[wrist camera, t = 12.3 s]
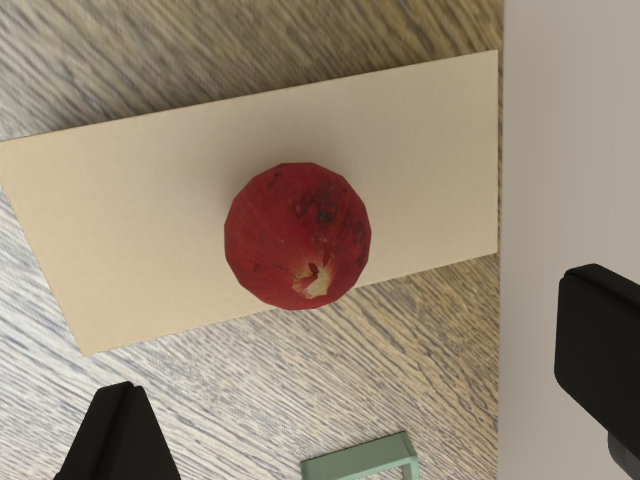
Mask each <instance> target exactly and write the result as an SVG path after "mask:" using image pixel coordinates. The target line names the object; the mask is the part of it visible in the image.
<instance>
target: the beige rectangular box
mask: <svg viewBox="0 0 640 480" xmlns="http://www.w3.org/2000/svg"><path fill="white" fill-rule="evenodd" d="M302 162H312V163H315V164H318V165H320V166H322V167H324V168H326V169H328V170H331V171H333V172H335V173H337V174H339V175H341V176H344V178H345V179H346V180H347V182H348V183H349V184H350V185H351V187H352V188H353V189H354V191H355V192H356V193H357V194H358V196H359V197H360V198H361V199H362V201H363V203H364V205H365V207H366V211H367V215H368V218H369V222H370V226H371V230H372V235H371V243H370V251H369V258H368V262H367V264H366V266H365V268H364V269H363V271H362V273H361V275H360V277H359V278H358V280H357V282H356V284H355V285H354V286H353V287H352V288H351V289H354V288H358V287H362V286H366V285H370V284H374V283H378V282H382V281H386V280H390V279H394V278H398V277H402V276H406V275H410V274H414V273H418V272H422V271H426V270H430V269H434V268H437V267H441V266H445V265H449V264H453V263H457V262H461V261H465V260H469V259H473V258H477V257H481V256H485V255H489V254H493V253H497V244H498V50H497V49H494V50H487V51H482V52H477V53H471V54H466V55H461V56H455V57H450V58H444V59H439V60H434V61H428V62H423V63H418V64H412V65H407V66H401V67H396V68H391V69H385V70H380V71H374V72H369V73H364V74H358V75H353V76H348V77H342V78H337V79H331V80H326V81H321V82H315V83H310V84H305V85H299V86H294V87H288V88H283V89H278V90H272V91H267V92H261V93H256V94H251V95H245V96H240V97H235V98H229V99H224V100H218V101H213V102H208V103H202V104H197V105H191V106H186V107H181V108H175V109H170V110H165V111H159V112H154V113H148V114H143V115H138V116H132V117H127V118H122V119H116V120H111V121H105V122H100V123H95V124H89V125H84V126H78V127H73V128H68V129H62V130H57V131H52V132H46V133H41V134H35V135H30V136H25V137H19V138H14V139H9V140H3V141H0V184H1V186H2V188H3V191H4V193H5V195H6V197H7V199H8V201H9V203H10V205H11V207H12V209H13V211H14V213H15V216H16V218H17V220H18V222H19V224H20V226H21V228H22V230H23V232H24V234H25V236H26V238H27V241H28V243H29V245H30V247H31V249H32V251H33V253H34V255H35V257H36V259H37V261H38V264H39V266H40V268H41V270H42V272H43V274H44V276H45V278H46V280H47V282H48V284H49V286H50V289H51V291H52V293H53V295H54V297H55V299H56V301H57V303H58V305H59V307H60V309H61V311H62V314H63V316H64V318H65V320H66V322H67V324H68V326H69V328H70V330H71V332H72V334H73V336H74V339H75V341H76V343H77V345H78V347H79V349H80V351H81V353H82V355H83V357H84V356H88V355H92V354H96V353H100V352H104V351H108V350H112V349H116V348H120V347H124V346H128V345H132V344H136V343H140V342H144V341H148V340H152V339H156V338H160V337H164V336H168V335H172V334H176V333H180V332H184V331H188V330H192V329H195V328H199V327H203V326H207V325H211V324H215V323H219V322H223V321H227V320H231V319H235V318H239V317H243V316H247V315H251V314H255V313H259V312H263V311H267V310H271V309H275V308H279V307H276V306H273V305H269V304H266V303H264V302H262V301H261V300H259V299H258V298H257V297H256V296H254V295H253V294H252V293H250V292H249V291H248V290H246V289H245V288H244V287H242V286H241V285H240V284H239V282H238V280H237V279H236V277H235V275H234V273H233V271H232V270H231V268H230V266H229V264H228V263H227V261H226V257H225V249H224V224H225V221H226V218H227V216H228V213H229V210H230V207H231V204H232V202H233V199H234V198H235V197H236V195H237V194H238V193H239V192H240V191H241V190H242V189H243V188H244V187H245V186H246V185H247V183H248V182H249V181H250V180H251V179H252V178H253V177H254V176H256V175H258V174H260V173H262V172H264V171H266V170H268V169H270V168H272V167H274V166H276V165H278V164H280V163H302Z"/></svg>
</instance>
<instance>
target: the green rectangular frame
mask: <svg viewBox="0 0 640 480" xmlns="http://www.w3.org/2000/svg"><path fill="white" fill-rule="evenodd" d="M401 465H402V468H403V476H404V480H420V477H419V467H418V458H417V453H416V451H415V449H414V447H413V445H412V443H411V441H410V439H409V437H408V435H407V433H406V432H401V433H398V434H395V435H391V436H388V437H385V438H381V439H378V440H375V441H371V442H368V443H365V444H361V445H358V446H355V447H352V448H348V449H345V450H342V451H338V452H335V453H332V454H328V455H325V456H322V457H318V458H315V459H312V460H308V461H304V462H301V463H300V468H301V473H302V478H303V480H356V479H359V478H363V477H366V476H369V475H372V474H375V473H379V472H382V471H385V470H388V469H392V468H395V467H398V466H401Z"/></svg>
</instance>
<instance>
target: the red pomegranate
mask: <svg viewBox="0 0 640 480" xmlns="http://www.w3.org/2000/svg"><path fill="white" fill-rule="evenodd" d="M371 235H372V230H371V226H370V222H369V218H368V215H367V211H366V207H365V205H364V203H363V201H362V199H361V198H360V197H359V196H358V194H357V193H356V192H355V191H354V189H353V188H352V187H351V185H350V184H349V183H348V182H347V180H346V179H345V178H344V176H341V175H339V174H337V173H335V172H333V171H331V170H328V169H326V168H324V167H322V166H320V165H318V164H315V163H312V162H302V163H280V164H278V165H276V166H274V167H272V168H270V169H268V170H266V171H264V172H262V173H260V174H258V175H256V176H254V177H253V178H252V179H251V180H250V181H249V182H248V183H247V185H246V186H245V187H244V188H243V189H242V190H241V191H240V192H239V193H238V194H237V195H236V197H235V198H234V199H233V202H232V204H231V207H230V210H229V213H228V216H227V218H226V221H225V224H224V249H225V257H226V261H227V263H228V264H229V266H230V268H231V270H232V271H233V273H234V275H235V277H236V279H237V280H238V282H239V284H240V285H241V286H242V287H244V288H245V289H246V290H248V291H249V292H250V293H252V294H253V295H254V296H256V297H257V298H258V299H259V300H261V301H262V302H264V303H266V304H269V305H273V306H276V307H279V308H282V309H286V310H304V309H315V308H318V307H321V306H323V305H326V304H328V303H331V302H334V301H336V300H338V299H339V298H340V297H341V296H343V295H344V294H345V293H346V292H347V291H348V290H350V289H351V288H352V287H353V286H354V285H355V284H356V282H357V280H358V278H359V277H360V275H361V273H362V271H363V269H364V268H365V266H366V264H367V262H368V258H369V251H370V243H371Z"/></svg>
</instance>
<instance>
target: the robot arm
mask: <svg viewBox="0 0 640 480" xmlns="http://www.w3.org/2000/svg"><path fill="white" fill-rule="evenodd" d="M554 374H555V377H556V380H557V382H558V383H559V385H560V386H561V387H562V388H563V389H564V390H565V391H566V392H567V393H568V394H569V395H570V396H571V397H572V398H573V399H574V400H575V401H576V402H577V403H579V404H580V405H581V406H582V407H583V408H584V409H585V410H586V411H587V412H588V413H589V414H590V415H591V416H592V417H593V418H595V419H596V420H597V421H598V422H599V423H600V424H601V425H602V426H603V427H604V428H605V429H606V430H607V431H608V432H609V433H611V434H612V435H613V436H614V437H615V438H616V439H617V440H618V441H619V442H620V443H621V444H622V445H623V446H624V447H625V448H627V449H628V450H629V451H630V452H631V453H632V454H633V455H634V456H635V457H636V458H637V459H638V460H639V461H640V285H638V284H636V283H634V282H633V281H631V280H629V279H627V278H625V277H623V276H621V275H619V274H617V273H615V272H613V271H610V270H609V269H606V268H604V267H602V266H600V265H598V264H595V263H594V264H588V265H584V266H580V267H576V268H572V269H569V270H567V271H566V272H565V274H564V277H563V278H562V279H561V280H560V282H559V294H558V312H557V330H556V348H555V364H554ZM53 480H181V477H180V474H179V472H178V470H177V467H176V465H175V462H174V460H173V458H172V455H171V453H170V450H169V448H168V446H167V443H166V441H165V438H164V436H163V434H162V431H161V429H160V426H159V424H158V422H157V419H156V417H155V414H154V412H153V410H152V407H151V405H150V402H149V400H148V398H147V395H146V393H145V390H144V389H143V387H142V386H136V387H134V385H133V384H132V383H131V382H130V381H126V382H122V383H118V384H114V385H110V386H106V387H102V388H100V389H98V390H97V392H96V393H95V395H94V397H93V400H92V402H91V404H90V406H89V408H88V411H87V413H86V415H85V417H84V419H83V421H82V424H81V426H80V428H79V430H78V432H77V435H76V437H75V439H74V441H73V443H72V446H71V448H70V450H69V452H68V454H67V457H66V459H65V461H64V463H63V465H62V468H61V470H60V472H58V473H57V474H56V475H55V477H54V479H53Z"/></svg>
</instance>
